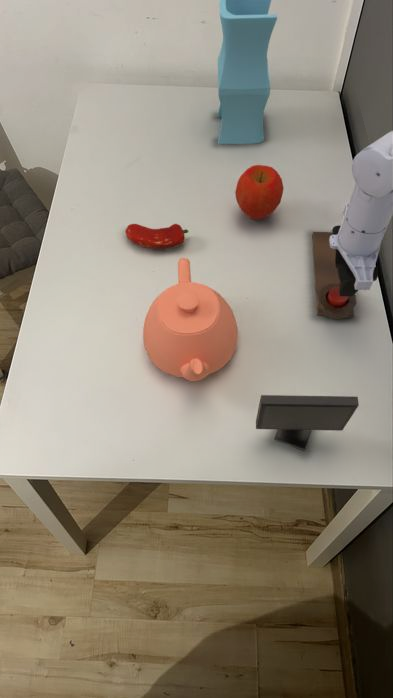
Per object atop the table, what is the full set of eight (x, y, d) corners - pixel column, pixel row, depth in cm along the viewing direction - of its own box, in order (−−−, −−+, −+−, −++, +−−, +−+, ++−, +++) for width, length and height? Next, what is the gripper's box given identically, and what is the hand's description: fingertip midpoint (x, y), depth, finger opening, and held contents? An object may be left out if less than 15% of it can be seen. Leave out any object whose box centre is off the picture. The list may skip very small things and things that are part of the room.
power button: (347, 308, 82) (349, 302, 81) (327, 307, 82) (329, 301, 81) (345, 292, 84) (347, 286, 82) (326, 291, 84) (328, 285, 83)
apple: (243, 238, 93) (246, 194, 84) (227, 207, 97) (228, 162, 88) (285, 226, 94) (294, 181, 85) (268, 196, 98) (274, 150, 89)
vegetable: (187, 215, 91) (124, 220, 93) (184, 228, 87) (118, 234, 89) (191, 238, 94) (129, 242, 96) (188, 251, 90) (124, 256, 92)
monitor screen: (342, 431, 69) (359, 405, 62) (255, 429, 70) (261, 404, 62) (341, 422, 70) (357, 396, 62) (255, 421, 70) (261, 394, 63)
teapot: (247, 403, 77) (253, 366, 66) (149, 414, 76) (139, 378, 66) (227, 288, 87) (230, 240, 77) (142, 297, 87) (132, 250, 76)
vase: (264, 143, 106) (277, 17, 84) (217, 144, 106) (219, 18, 84) (261, 113, 111) (274, -13, 89) (217, 114, 111) (218, -12, 89)
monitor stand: (304, 451, 73) (312, 435, 67) (274, 439, 74) (279, 423, 68) (313, 423, 75) (321, 406, 69) (283, 412, 76) (289, 394, 70)
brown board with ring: (353, 322, 83) (357, 314, 81) (316, 321, 84) (319, 312, 81) (345, 235, 93) (348, 226, 90) (311, 234, 93) (314, 225, 91)
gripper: (331, 179, 70) (314, 244, 82) (343, 260, 63) (322, 318, 75) (382, 179, 70) (357, 244, 82) (399, 260, 63) (370, 319, 75)
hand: (344, 280), depth 79 cm, fingers open, 5 cm apart
